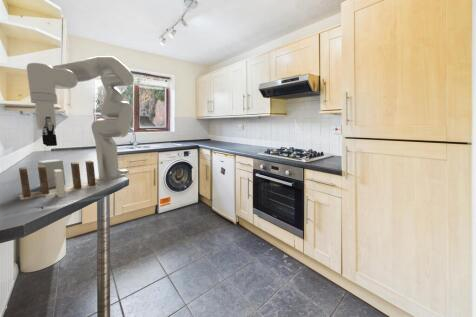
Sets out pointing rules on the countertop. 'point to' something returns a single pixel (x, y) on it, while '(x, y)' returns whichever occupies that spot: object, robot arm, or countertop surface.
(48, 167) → the supplement box
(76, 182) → the domino
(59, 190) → the domino
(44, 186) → the domino
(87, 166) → the domino
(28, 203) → the countertop surface
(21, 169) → the domino end
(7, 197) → the countertop surface
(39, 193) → the board
